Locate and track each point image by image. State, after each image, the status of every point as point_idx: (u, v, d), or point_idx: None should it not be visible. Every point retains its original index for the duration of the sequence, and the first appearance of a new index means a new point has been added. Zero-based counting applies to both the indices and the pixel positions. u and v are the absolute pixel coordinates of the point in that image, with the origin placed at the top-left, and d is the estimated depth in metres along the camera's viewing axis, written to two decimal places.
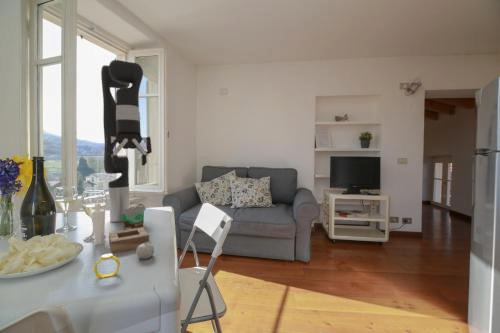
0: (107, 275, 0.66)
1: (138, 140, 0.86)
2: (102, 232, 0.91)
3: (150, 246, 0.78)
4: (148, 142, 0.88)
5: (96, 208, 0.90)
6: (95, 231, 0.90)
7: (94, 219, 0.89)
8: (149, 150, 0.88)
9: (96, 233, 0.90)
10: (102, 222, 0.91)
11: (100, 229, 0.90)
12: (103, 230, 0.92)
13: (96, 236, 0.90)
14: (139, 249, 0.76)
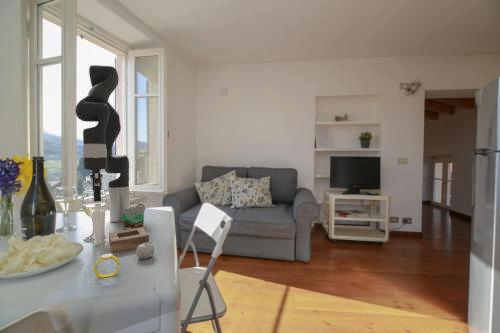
0: (107, 275, 0.66)
1: None
2: (102, 232, 0.91)
3: (150, 246, 0.78)
4: None
5: (96, 208, 0.90)
6: (95, 231, 0.90)
7: (94, 219, 0.89)
8: None
9: (96, 233, 0.90)
10: (102, 222, 0.91)
11: (100, 229, 0.90)
12: (103, 230, 0.92)
13: (96, 236, 0.90)
14: (139, 249, 0.76)
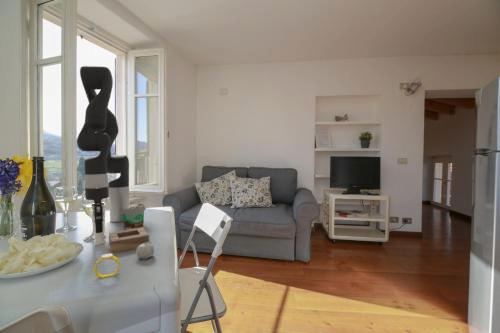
0: (107, 275, 0.66)
1: (101, 203, 0.94)
2: (102, 232, 0.91)
3: (150, 246, 0.78)
4: None
5: None
6: (95, 231, 0.90)
7: (94, 219, 0.89)
8: None
9: (96, 234, 0.90)
10: (102, 222, 0.91)
11: None
12: (103, 230, 0.92)
13: (96, 236, 0.90)
14: (139, 249, 0.76)
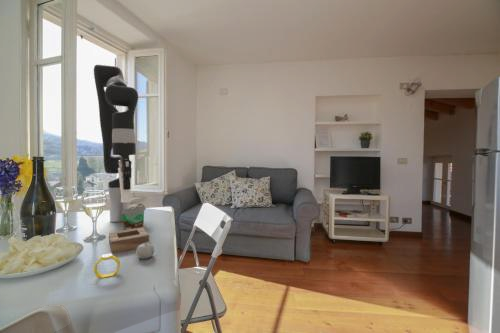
0: (107, 275, 0.66)
1: None
2: (129, 190, 0.89)
3: (150, 246, 0.78)
4: None
5: None
6: (122, 188, 0.87)
7: (121, 175, 0.87)
8: None
9: (124, 191, 0.87)
10: None
11: None
12: (130, 188, 0.89)
13: (123, 193, 0.87)
14: (139, 249, 0.76)
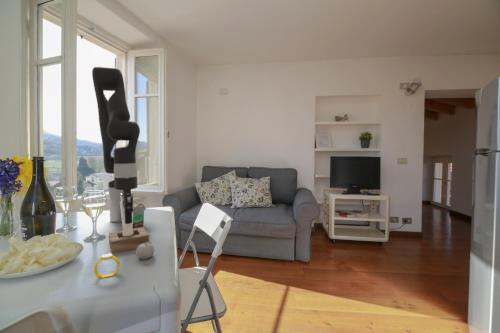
0: (107, 275, 0.66)
1: None
2: (131, 223, 0.89)
3: (150, 246, 0.78)
4: None
5: None
6: (124, 222, 0.88)
7: (123, 210, 0.87)
8: None
9: (125, 224, 0.88)
10: None
11: None
12: (132, 221, 0.90)
13: (125, 227, 0.88)
14: (139, 249, 0.76)
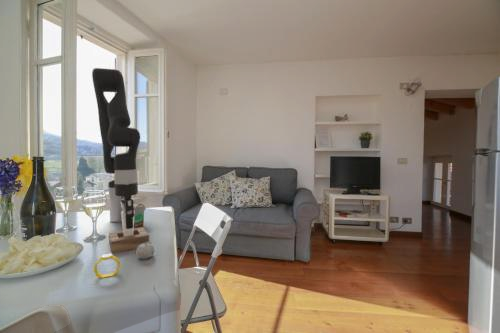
0: (107, 275, 0.66)
1: None
2: (132, 233, 0.90)
3: (150, 246, 0.78)
4: None
5: None
6: (125, 232, 0.88)
7: (124, 220, 0.88)
8: None
9: (126, 234, 0.88)
10: None
11: (129, 230, 0.89)
12: (132, 231, 0.90)
13: None
14: (139, 249, 0.76)
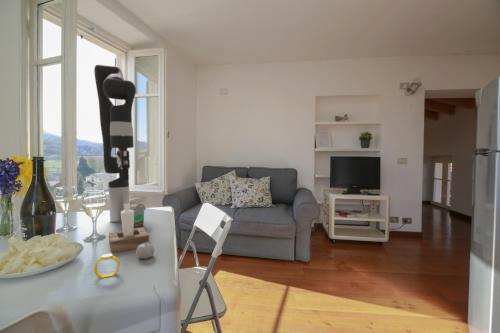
0: (107, 275, 0.66)
1: None
2: (131, 233, 0.90)
3: (150, 246, 0.78)
4: None
5: (126, 209, 0.89)
6: (125, 232, 0.88)
7: (124, 220, 0.88)
8: None
9: (126, 235, 0.88)
10: (131, 223, 0.89)
11: (129, 230, 0.89)
12: (132, 231, 0.90)
13: None
14: (139, 249, 0.76)
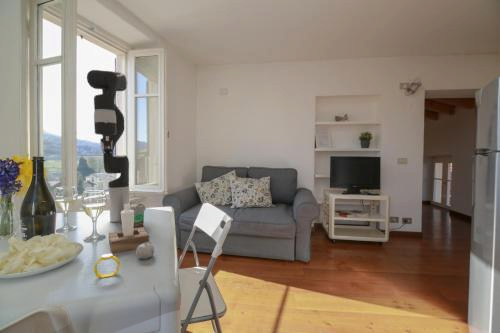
0: (107, 275, 0.66)
1: None
2: (131, 233, 0.90)
3: (150, 246, 0.78)
4: None
5: (126, 209, 0.89)
6: (125, 232, 0.88)
7: (124, 220, 0.88)
8: None
9: (126, 235, 0.88)
10: (132, 223, 0.89)
11: (129, 230, 0.89)
12: (132, 231, 0.90)
13: None
14: (139, 249, 0.76)
